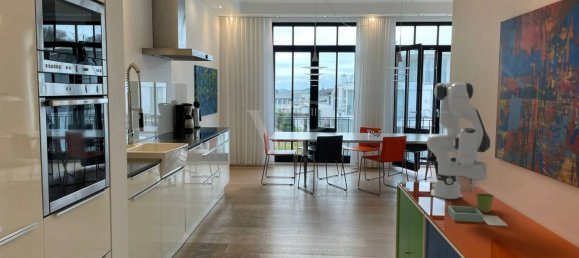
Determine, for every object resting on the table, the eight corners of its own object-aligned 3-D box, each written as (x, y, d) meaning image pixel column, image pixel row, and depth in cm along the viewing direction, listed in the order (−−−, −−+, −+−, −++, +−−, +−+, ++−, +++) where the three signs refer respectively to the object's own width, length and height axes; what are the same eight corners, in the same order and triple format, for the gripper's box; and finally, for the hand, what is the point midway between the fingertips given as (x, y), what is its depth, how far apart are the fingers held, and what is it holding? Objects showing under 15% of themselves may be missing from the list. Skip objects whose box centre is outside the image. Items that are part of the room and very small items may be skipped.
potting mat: (479, 215, 223) (479, 215, 223) (496, 216, 222) (496, 215, 222) (488, 224, 208) (488, 224, 208) (507, 225, 206) (507, 225, 206)
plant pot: (495, 213, 227) (496, 197, 226) (477, 212, 229) (477, 197, 228) (491, 208, 236) (491, 193, 235) (473, 207, 238) (473, 192, 237)
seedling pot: (458, 189, 222) (459, 175, 221) (470, 189, 221) (471, 175, 220) (461, 192, 216) (461, 177, 215) (473, 192, 215) (474, 178, 214)
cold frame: (447, 212, 228) (448, 205, 227) (474, 214, 226) (475, 206, 225) (453, 220, 214) (454, 213, 214) (482, 222, 212) (483, 214, 212)
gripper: (490, 162, 210) (488, 189, 212) (453, 156, 227) (452, 181, 228) (483, 163, 207) (481, 190, 208) (446, 157, 223) (445, 183, 225)
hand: (466, 185), depth 218 cm, fingers closed on seedling pot, 6 cm apart
